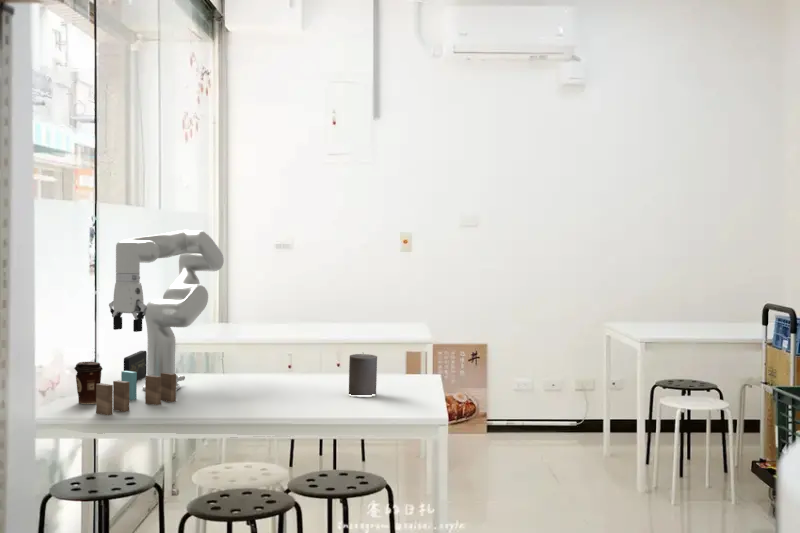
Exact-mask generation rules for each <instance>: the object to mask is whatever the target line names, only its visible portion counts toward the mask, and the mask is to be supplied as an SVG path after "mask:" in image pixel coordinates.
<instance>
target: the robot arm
mask: <svg viewBox="0 0 800 533" xmlns="http://www.w3.org/2000/svg"><path fill="white" fill-rule="evenodd" d="M175 256H179V258H178V277H177V278H176V279H175V280H174V281H173V282H172V284H170V285H169V286H168V288H167V289H166V290H165V292H164V294H163V296H162V299H161V298H158V299H152V300H150V301H148V303H147V304H145V302H144V293H143V285H142V283H141V281H140V280H141V274H140V272H141V271H140V269H141V266H140V265H141V264H144V263H145V264H149V263H153V262H155V261H156V260H158V259H167V258H172V257H175ZM140 263H141V264H140ZM223 266H224V255H223V252H222V251H221V249H220V248H219V246H218V245H217V244H216V242H215V241H214V239H213V238H212V237H211V236H210V235H209V234H208V233H207V232H206V231H203V230H192V229H191V230H189V229H183V230H176V231H171V232H166V233H160V234H154V235H147V236H138V237H132V238H128V239H123V240H121V241H120V240H119V241H118V242H117V243H116V244H115V283H114V289H113V290H114V291H113V301H111V302H109V303H108V306H109V307H108V308H109V310H110V311H109V312H110V313H111V316H112V318H113V322H112V323H113V327H112V328H113V330H115V331H117V330H122V329H123V317H122V315H123V314H131V315H132V316H133V317H134V319H133V322H132V323H133V326H132V328H133V333H135V332H136V333H137V332H142V331H143V320H144V319H145V323H146V333H147V368H146V376H147V375H154V376H161V373H173V374H176V345H177V344H176V343H177V342H176V336H175V333H174V331H173V329H172V328H188V327H190V326H191V325H192V324H193V323H194V322H195V321H196V319H198V317H199V316H200V315H201V314H202V313H203V311H204V310H205V309H206V308H207V305H208V303H209V292H208V290H207V288H206V287H205V286H203V285H202V284H201V283H200V279H199V278H198V276H197V274H196V272H218V271H219V270H221V269H222V268H223ZM185 379H186V376H185V375H184V374H181V375H178V374H176V391H177V390H179V389H180V387H181V386H180V384H179V383H178V382H182V381H185ZM142 390H143V391H145V384H144V385H143V386H142Z"/></svg>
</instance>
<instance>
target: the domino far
mask: <svg viewBox="0 0 800 533" xmlns="http://www.w3.org/2000/svg"><path fill="white" fill-rule="evenodd" d="M95 407H96V408H95V411H96V412H95V414H96V413H97V415H102V416H103V415H104V416H112V415H113V414H114V413H113V412H114V410H113V384H110V383H103V382H100V384H96V404H95Z"/></svg>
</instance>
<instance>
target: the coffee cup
mask: <svg viewBox="0 0 800 533" xmlns="http://www.w3.org/2000/svg"><path fill="white" fill-rule="evenodd" d="M73 369H74V370H75V372H76V374H75V381H76V391H77V396H78V403H79V404H82V405H96V384H100V383H102V382H101V379H102V371H103V367H102V365H101V363H100V362H96V361H80V362H77V363H76V365H75V367H74V368H73Z"/></svg>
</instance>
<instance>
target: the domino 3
mask: <svg viewBox="0 0 800 533" xmlns="http://www.w3.org/2000/svg"><path fill="white" fill-rule="evenodd" d="M144 378H145V379H144V380H145V382H144V385H145V390H144V392H145V393H144V394H145V395H144V396H145V402H144V404H146V405H153V406H159V405H162V401H161V376H154V375H147V374H146V376H145V377H144Z"/></svg>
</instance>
